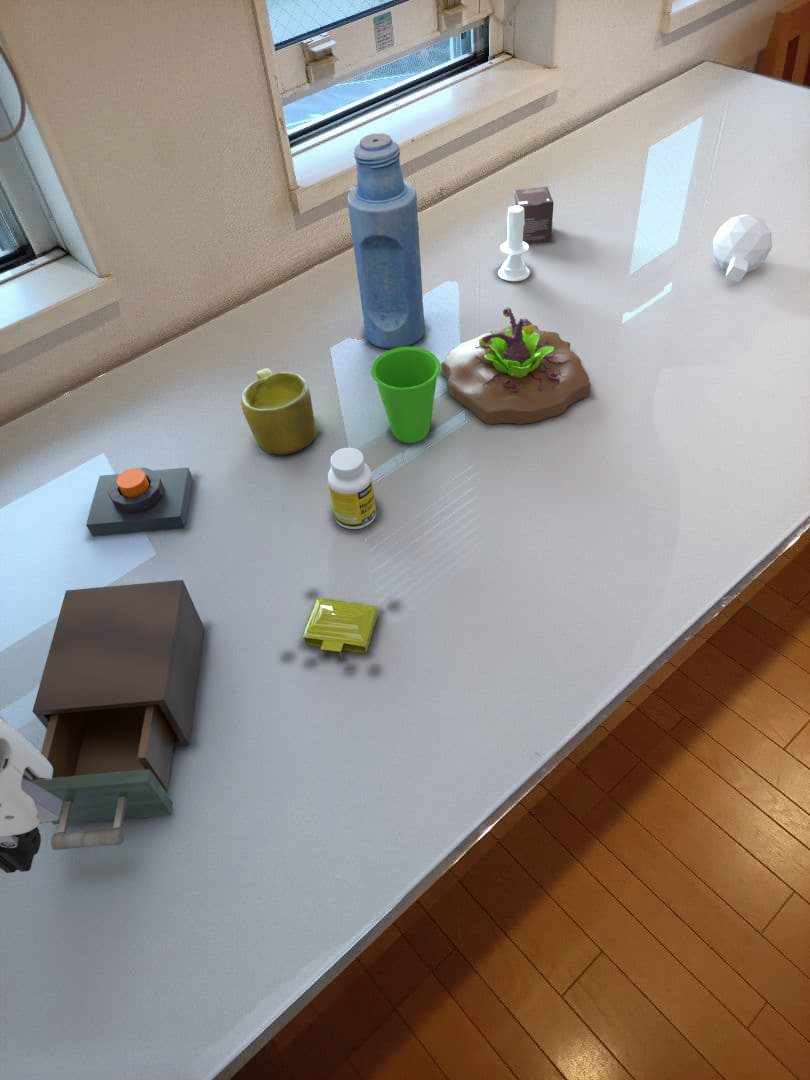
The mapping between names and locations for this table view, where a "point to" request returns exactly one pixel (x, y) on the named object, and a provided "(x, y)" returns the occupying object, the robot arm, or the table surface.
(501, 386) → the plant
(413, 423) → the cup
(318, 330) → the table surface
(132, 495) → the button
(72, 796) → the drawer
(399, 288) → the bottle
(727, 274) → the white faceted rounded piece
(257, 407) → the mug
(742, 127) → the table surface
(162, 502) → the control block
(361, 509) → the supplement bottle
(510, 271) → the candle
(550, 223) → the box
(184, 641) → the cabinet
